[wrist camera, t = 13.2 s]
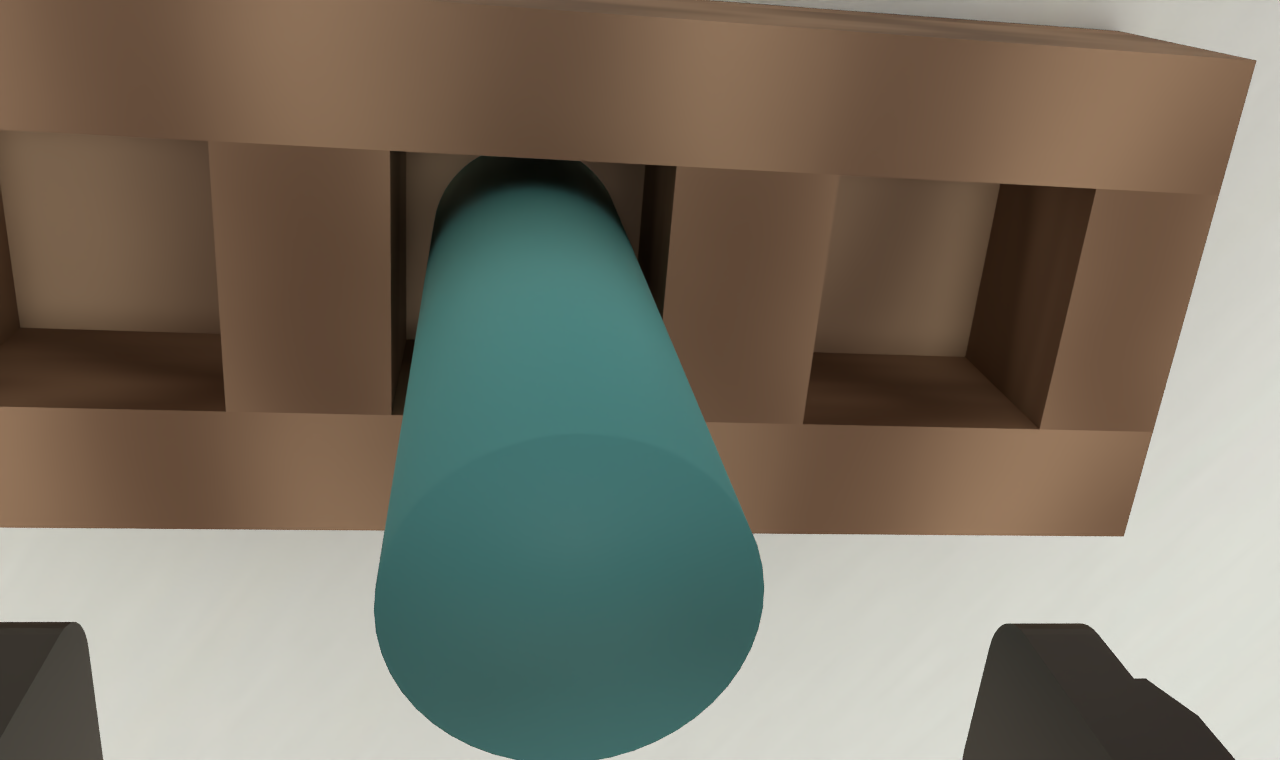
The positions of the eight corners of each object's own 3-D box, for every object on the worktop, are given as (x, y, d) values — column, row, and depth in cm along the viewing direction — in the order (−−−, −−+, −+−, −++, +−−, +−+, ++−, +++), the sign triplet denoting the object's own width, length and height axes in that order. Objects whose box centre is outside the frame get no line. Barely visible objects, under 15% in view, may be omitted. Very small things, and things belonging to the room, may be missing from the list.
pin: (434, 139, 23) (371, 429, 11) (625, 149, 24) (787, 436, 11) (432, 321, 25) (376, 768, 12) (612, 327, 25) (741, 758, 13)
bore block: (-67, 412, 25) (-190, 526, 21) (-151, -65, 22) (-324, -54, 17) (1024, 435, 29) (1123, 536, 24) (1117, 31, 25) (1256, 60, 21)
